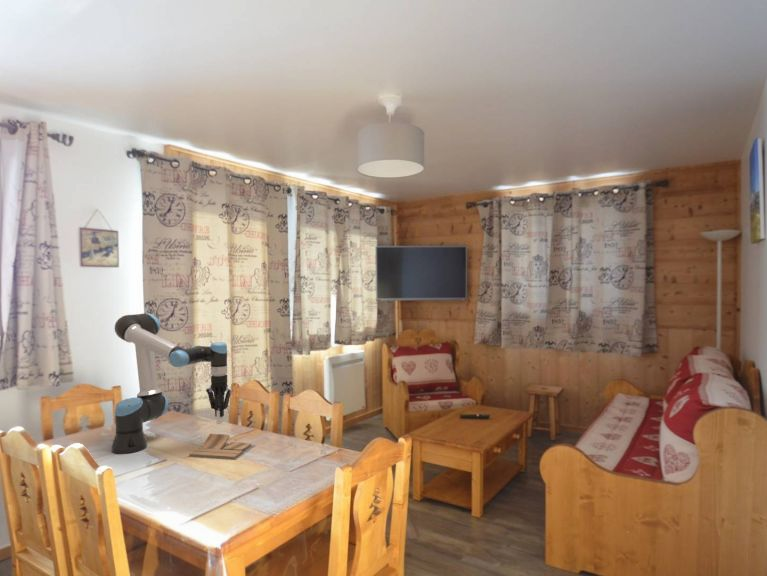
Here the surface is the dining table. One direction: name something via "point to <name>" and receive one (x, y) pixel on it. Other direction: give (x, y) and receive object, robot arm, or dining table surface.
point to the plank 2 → (237, 446)
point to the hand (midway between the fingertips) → (219, 423)
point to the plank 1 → (216, 441)
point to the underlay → (219, 453)
